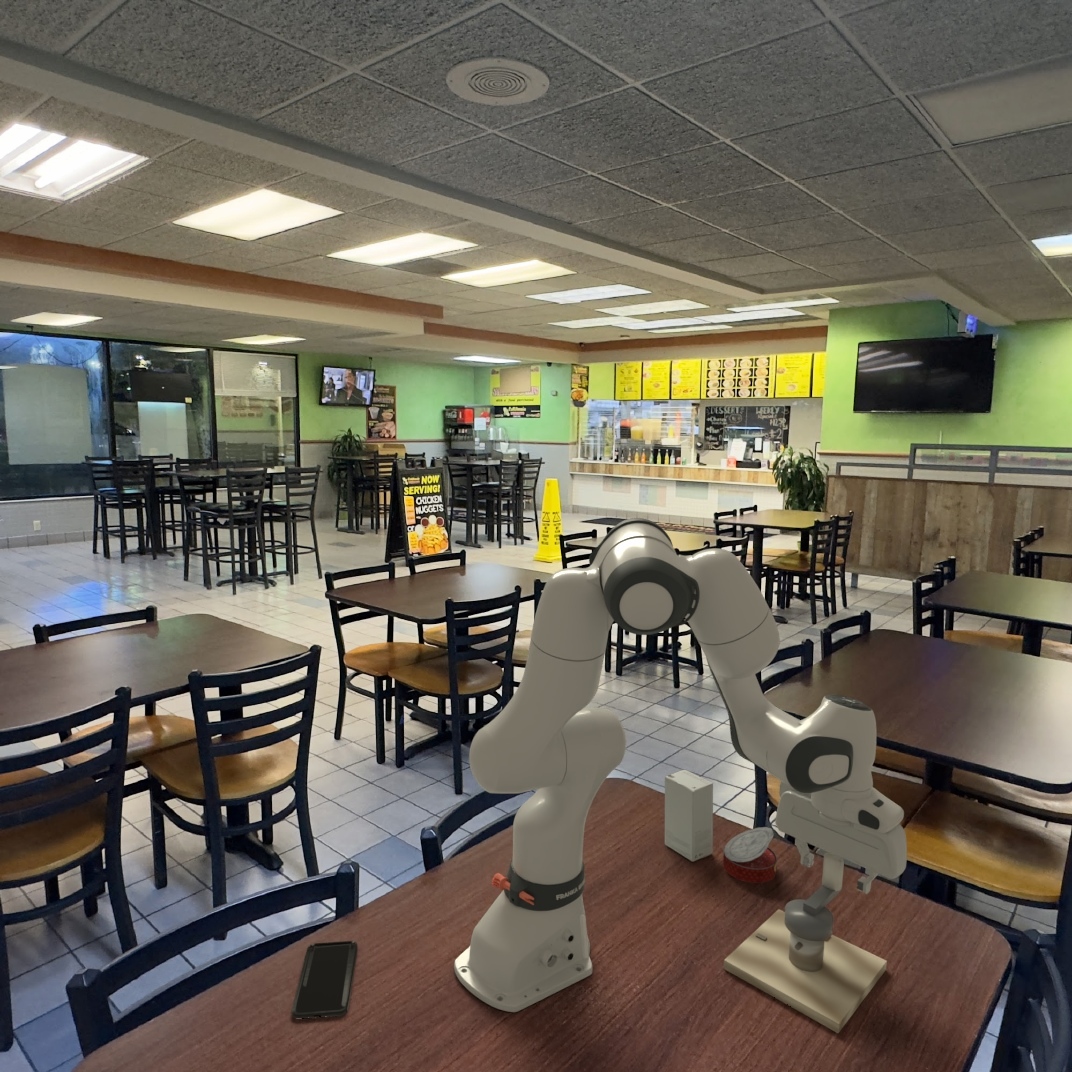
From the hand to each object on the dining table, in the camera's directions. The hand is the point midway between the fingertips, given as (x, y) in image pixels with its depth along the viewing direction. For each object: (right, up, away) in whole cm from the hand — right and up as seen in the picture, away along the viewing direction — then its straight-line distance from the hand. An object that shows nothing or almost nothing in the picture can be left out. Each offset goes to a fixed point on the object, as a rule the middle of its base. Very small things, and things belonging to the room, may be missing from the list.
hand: (834, 877), depth 122 cm
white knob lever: (-4, -5, -3) cm, 7 cm away
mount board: (-6, -13, -4) cm, 15 cm away
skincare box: (-18, -8, +30) cm, 36 cm away
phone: (-79, -13, -8) cm, 81 cm away
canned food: (-7, -9, +24) cm, 26 cm away
